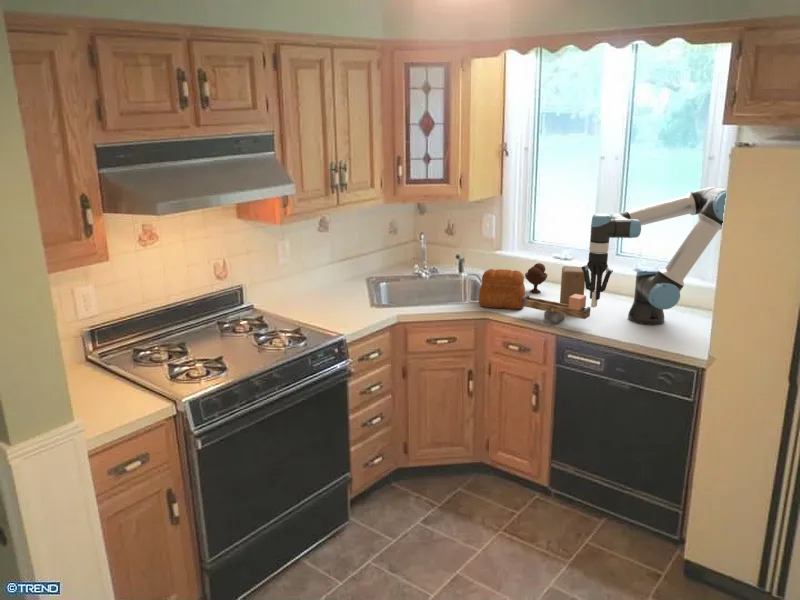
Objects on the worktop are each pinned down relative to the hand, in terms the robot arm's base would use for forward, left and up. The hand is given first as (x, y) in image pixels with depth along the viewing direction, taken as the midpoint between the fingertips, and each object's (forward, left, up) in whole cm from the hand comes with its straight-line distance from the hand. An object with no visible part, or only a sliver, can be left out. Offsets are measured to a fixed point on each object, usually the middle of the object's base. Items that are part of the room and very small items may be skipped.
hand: (594, 306), depth 287 cm
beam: (+17, 0, -10) cm, 20 cm away
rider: (+7, 0, -3) cm, 8 cm away
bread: (+48, -8, -11) cm, 50 cm away
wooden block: (+18, -19, -11) cm, 29 cm away
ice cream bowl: (+45, -36, -11) cm, 59 cm away
